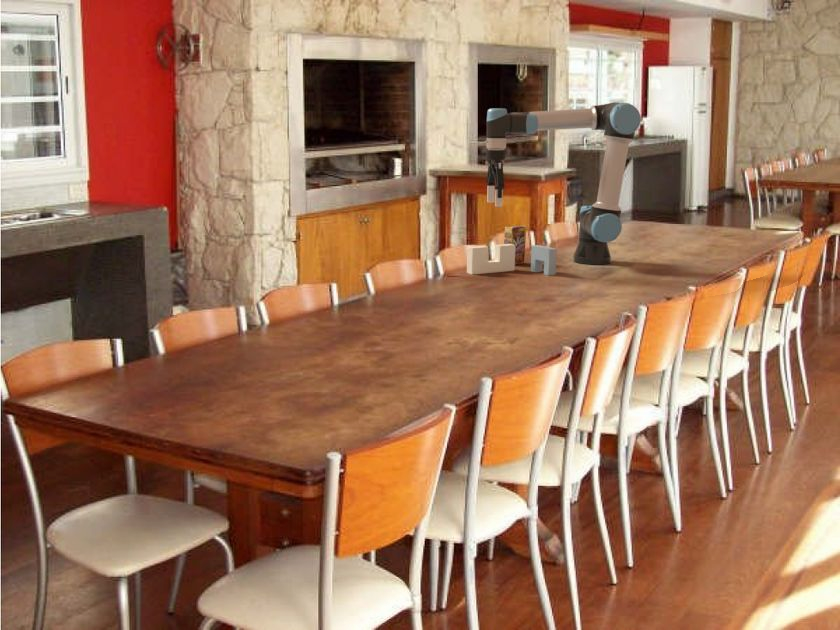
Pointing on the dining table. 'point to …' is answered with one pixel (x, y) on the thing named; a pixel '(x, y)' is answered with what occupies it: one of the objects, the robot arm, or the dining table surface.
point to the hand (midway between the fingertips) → (494, 204)
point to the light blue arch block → (543, 259)
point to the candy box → (516, 241)
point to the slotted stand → (501, 262)
